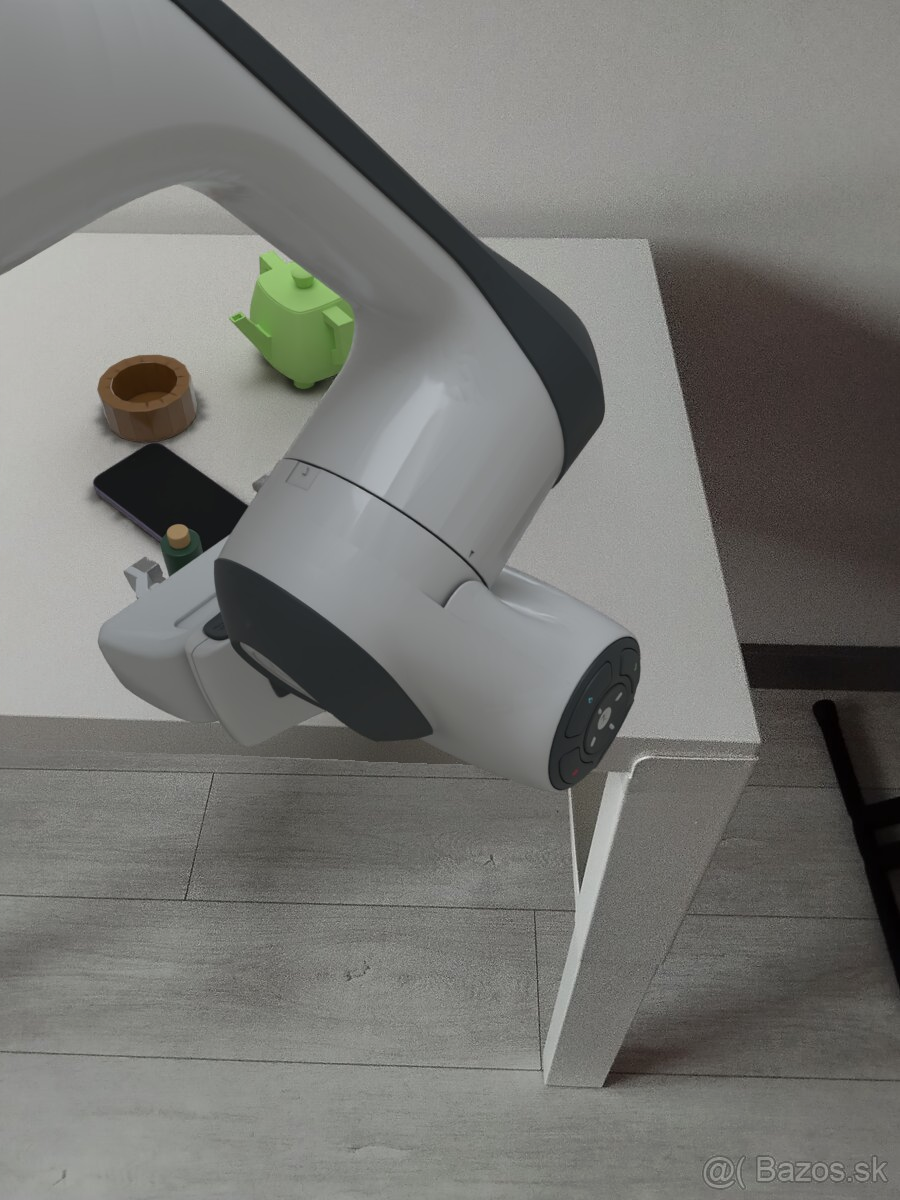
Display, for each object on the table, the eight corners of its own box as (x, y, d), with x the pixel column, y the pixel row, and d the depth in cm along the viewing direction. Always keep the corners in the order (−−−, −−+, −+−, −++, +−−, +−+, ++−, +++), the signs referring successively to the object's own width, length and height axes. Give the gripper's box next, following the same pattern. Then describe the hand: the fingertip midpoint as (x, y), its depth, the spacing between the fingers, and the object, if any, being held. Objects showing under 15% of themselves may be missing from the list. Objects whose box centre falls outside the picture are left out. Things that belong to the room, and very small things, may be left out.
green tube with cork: (204, 662, 76) (174, 551, 67) (181, 644, 78) (149, 532, 68) (231, 642, 78) (205, 530, 69) (208, 624, 79) (180, 511, 70)
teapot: (268, 319, 104) (255, 229, 97) (381, 329, 103) (377, 239, 96) (238, 393, 97) (222, 302, 89) (359, 405, 96) (353, 313, 88)
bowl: (144, 454, 91) (136, 423, 88) (88, 414, 94) (79, 383, 91) (215, 411, 95) (209, 380, 92) (159, 374, 98) (151, 343, 95)
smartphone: (207, 574, 81) (86, 481, 87) (209, 583, 82) (89, 491, 88) (275, 524, 85) (155, 438, 90) (276, 533, 86) (157, 447, 91)
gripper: (477, 442, 55) (316, 396, 64) (169, 676, 46) (30, 584, 55) (501, 537, 59) (345, 481, 68) (221, 771, 50) (83, 670, 59)
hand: (203, 528), depth 61 cm, fingers open, 8 cm apart
